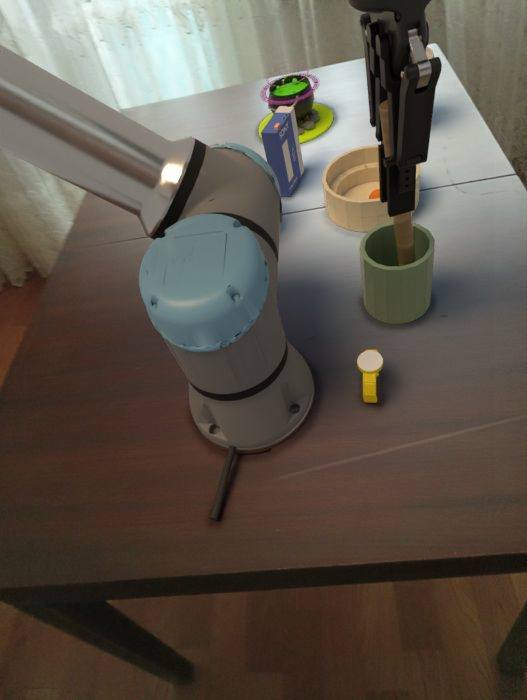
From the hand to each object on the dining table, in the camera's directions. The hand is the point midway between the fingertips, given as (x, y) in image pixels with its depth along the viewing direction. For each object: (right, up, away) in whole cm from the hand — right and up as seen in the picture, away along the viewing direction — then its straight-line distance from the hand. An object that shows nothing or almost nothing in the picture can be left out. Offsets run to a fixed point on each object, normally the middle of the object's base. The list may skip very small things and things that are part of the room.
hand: (397, 204), depth 54 cm
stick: (+5, -8, +11) cm, 15 cm away
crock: (+3, -9, +12) cm, 16 cm away
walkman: (-10, +13, +34) cm, 37 cm away
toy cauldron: (-8, +29, +45) cm, 54 cm away
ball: (+3, +7, +22) cm, 24 cm away
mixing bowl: (+3, +7, +25) cm, 26 cm away
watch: (-2, -20, +5) cm, 21 cm away
